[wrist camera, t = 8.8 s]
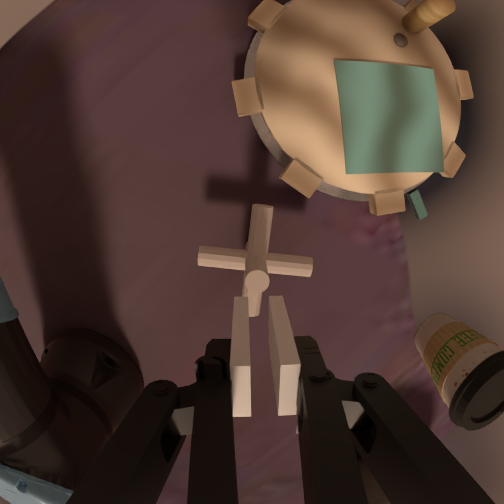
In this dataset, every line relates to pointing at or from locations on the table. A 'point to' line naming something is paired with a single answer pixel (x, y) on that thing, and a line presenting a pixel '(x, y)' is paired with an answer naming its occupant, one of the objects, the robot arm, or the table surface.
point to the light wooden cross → (256, 259)
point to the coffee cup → (463, 370)
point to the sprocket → (357, 94)
